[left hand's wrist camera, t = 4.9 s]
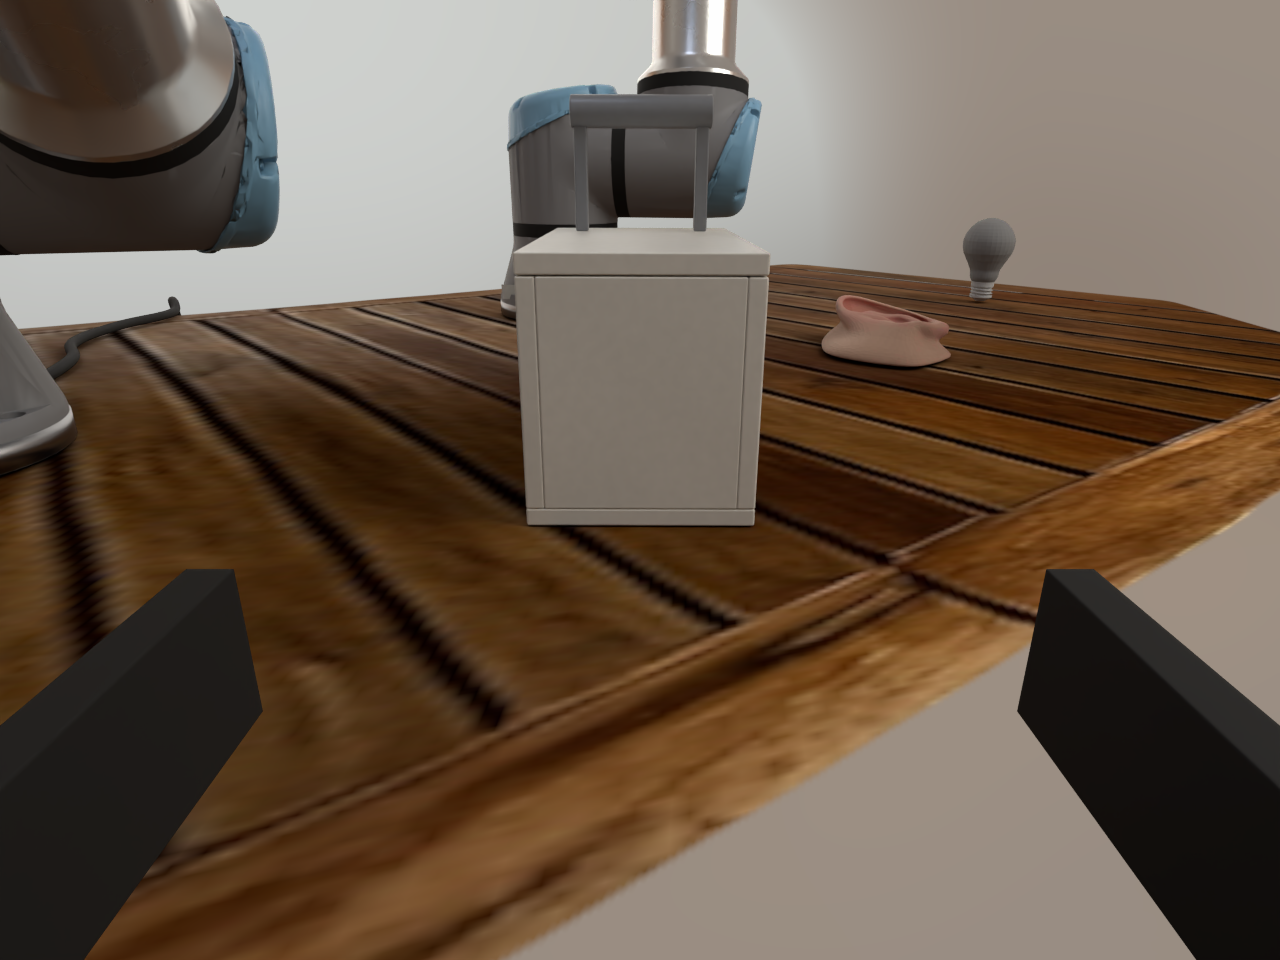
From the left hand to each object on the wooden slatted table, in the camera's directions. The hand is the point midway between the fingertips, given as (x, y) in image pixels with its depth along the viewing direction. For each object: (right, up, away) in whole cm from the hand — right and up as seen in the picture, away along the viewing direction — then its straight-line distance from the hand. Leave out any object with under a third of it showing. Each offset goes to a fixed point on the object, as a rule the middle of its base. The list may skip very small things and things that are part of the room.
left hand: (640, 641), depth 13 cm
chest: (0, +4, +30) cm, 30 cm away
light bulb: (+44, +25, +87) cm, 100 cm away
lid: (0, +14, +26) cm, 29 cm away
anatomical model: (+22, +14, +57) cm, 63 cm away
